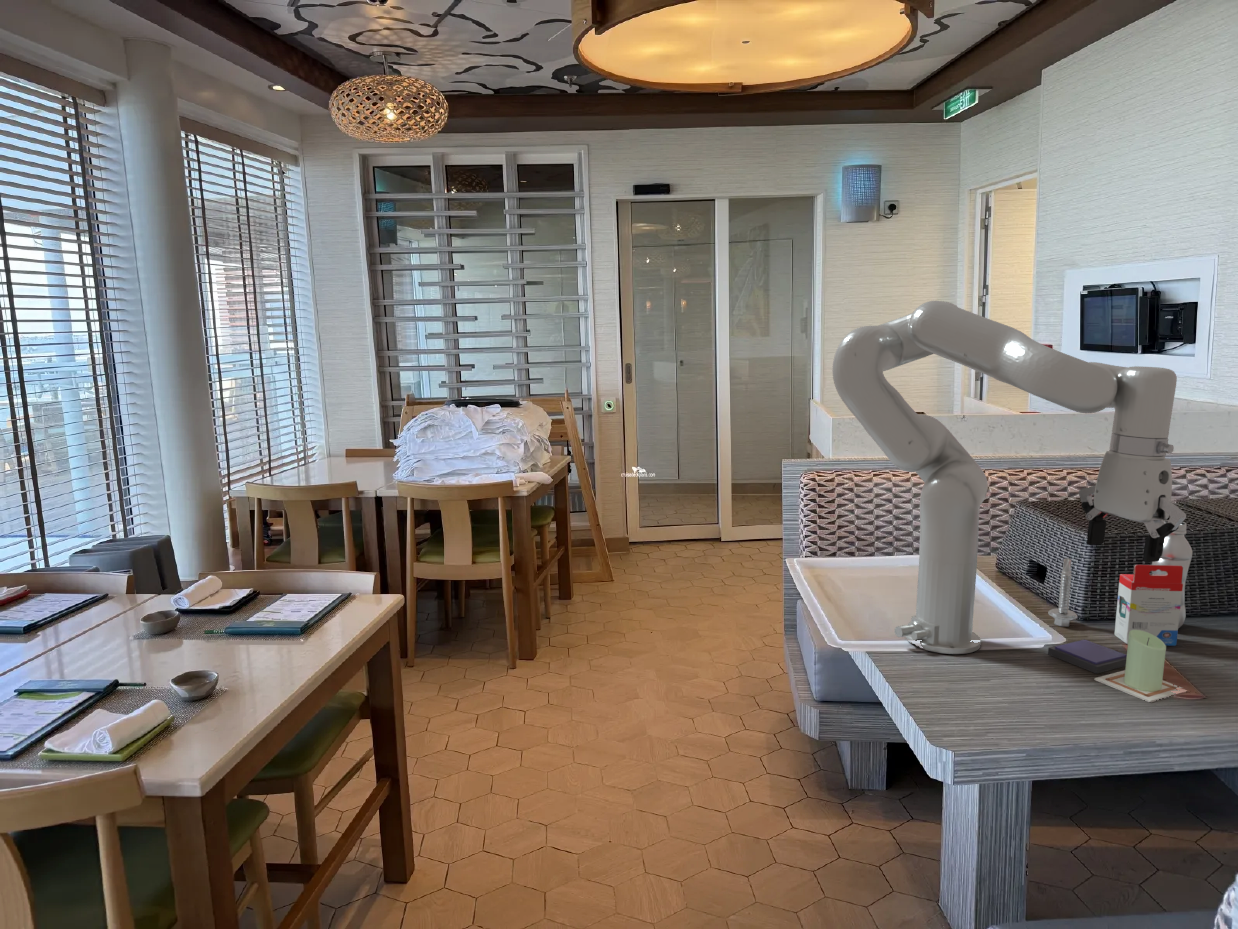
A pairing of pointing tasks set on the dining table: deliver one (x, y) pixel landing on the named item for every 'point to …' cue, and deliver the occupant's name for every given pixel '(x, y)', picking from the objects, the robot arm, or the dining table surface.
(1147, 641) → the candle
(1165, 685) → the square coaster
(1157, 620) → the ink box
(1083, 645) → the ink pad
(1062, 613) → the screw
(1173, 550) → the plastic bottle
